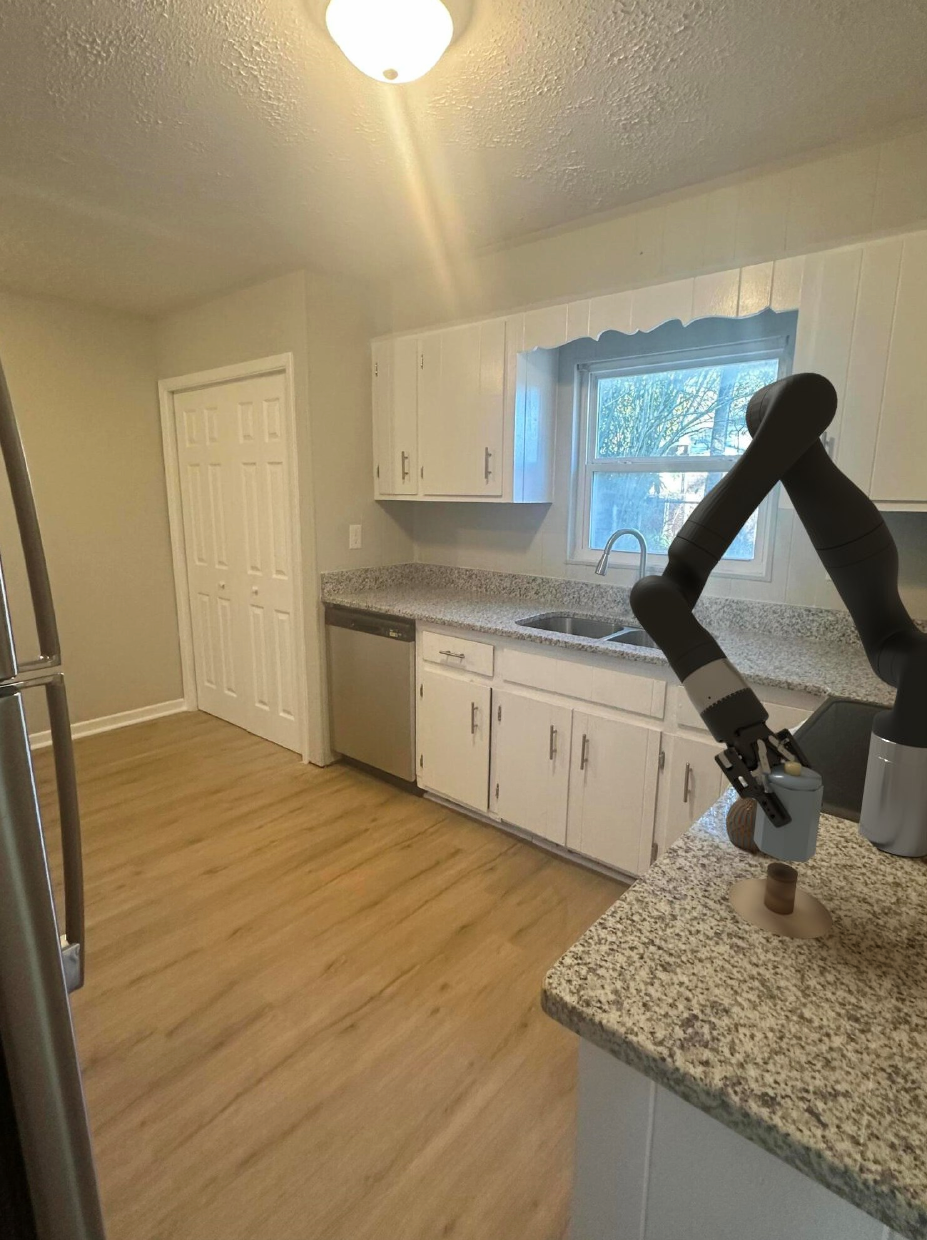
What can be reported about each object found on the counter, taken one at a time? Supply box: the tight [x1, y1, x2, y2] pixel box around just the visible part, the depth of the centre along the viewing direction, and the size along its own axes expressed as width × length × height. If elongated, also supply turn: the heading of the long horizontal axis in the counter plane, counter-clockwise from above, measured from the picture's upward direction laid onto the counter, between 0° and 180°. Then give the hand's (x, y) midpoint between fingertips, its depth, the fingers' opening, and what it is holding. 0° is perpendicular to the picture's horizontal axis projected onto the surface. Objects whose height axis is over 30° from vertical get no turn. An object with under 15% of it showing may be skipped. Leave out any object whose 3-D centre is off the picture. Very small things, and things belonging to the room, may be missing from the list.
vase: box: [725, 796, 761, 852], centre depth 95 cm, size 7×7×9 cm
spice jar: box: [764, 862, 799, 915], centre depth 80 cm, size 4×4×5 cm
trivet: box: [727, 878, 833, 940], centre depth 80 cm, size 12×12×1 cm
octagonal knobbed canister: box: [754, 761, 825, 863], centre depth 77 cm, size 6×6×11 cm
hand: (800, 816), depth 76 cm, fingers closed on octagonal knobbed canister, 6 cm apart
